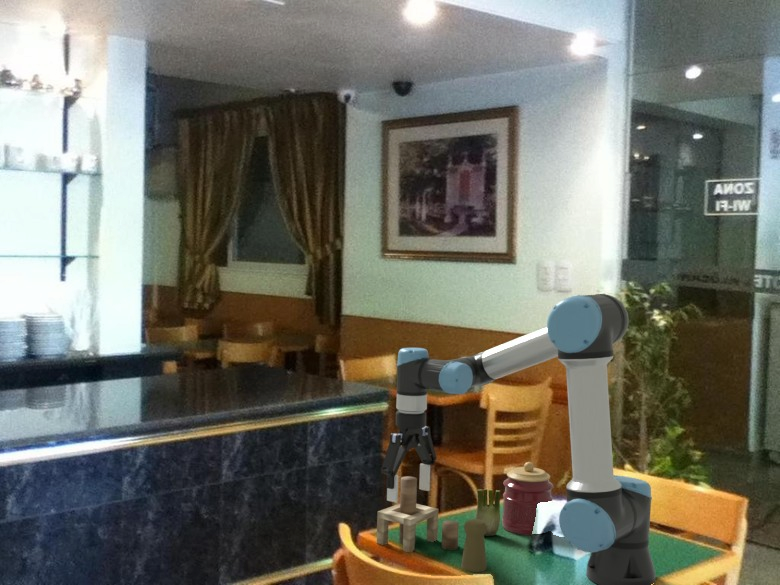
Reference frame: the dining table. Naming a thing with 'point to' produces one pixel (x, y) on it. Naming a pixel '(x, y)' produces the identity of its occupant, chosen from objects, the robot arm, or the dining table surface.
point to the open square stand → (407, 524)
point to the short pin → (450, 534)
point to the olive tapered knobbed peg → (474, 546)
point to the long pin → (407, 500)
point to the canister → (524, 497)
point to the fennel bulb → (489, 510)
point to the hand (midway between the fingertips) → (408, 495)
